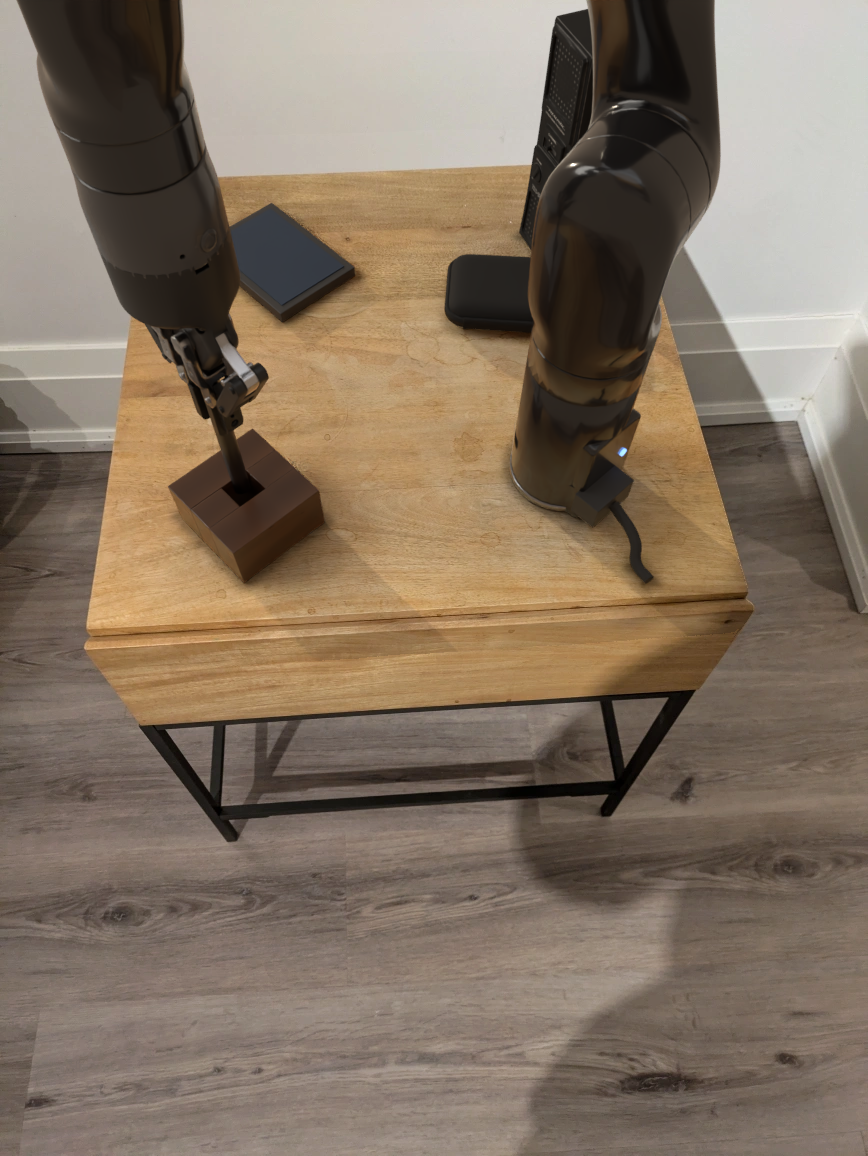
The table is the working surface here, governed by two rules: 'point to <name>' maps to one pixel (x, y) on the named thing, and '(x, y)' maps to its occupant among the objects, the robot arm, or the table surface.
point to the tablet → (285, 262)
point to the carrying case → (489, 293)
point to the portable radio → (561, 106)
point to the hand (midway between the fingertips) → (221, 419)
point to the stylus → (233, 461)
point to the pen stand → (249, 506)
